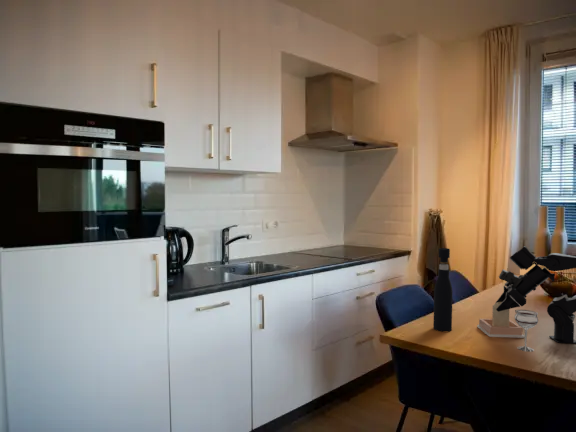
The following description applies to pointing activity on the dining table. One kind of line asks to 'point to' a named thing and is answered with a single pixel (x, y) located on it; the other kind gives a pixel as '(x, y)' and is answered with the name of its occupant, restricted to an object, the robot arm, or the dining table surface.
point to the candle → (500, 316)
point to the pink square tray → (500, 329)
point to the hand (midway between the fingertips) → (496, 307)
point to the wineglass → (526, 324)
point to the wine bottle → (443, 294)
